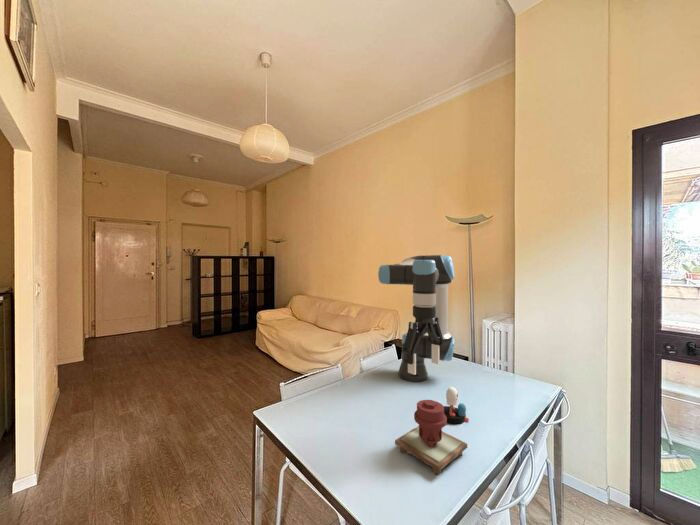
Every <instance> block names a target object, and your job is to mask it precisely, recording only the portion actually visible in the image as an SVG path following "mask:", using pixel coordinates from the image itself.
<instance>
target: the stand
mask: <svg viewBox="0 0 700 525" xmlns="http://www.w3.org/2000/svg"><path fill="white" fill-rule="evenodd" d="M394 444H395V446H398V447H399V451H400V452H401V453H403V454H407V453H409V454H411V455H413V456H414V457H416V458H417V459H418V460H420V461H422V462H424V463H425V464H427V465H428V466H430V467H431V468H432V472H433V474H435V475H440V474H441V473H442V469H444V468H445V467H446V466H447V465H449V464H450V463H451V462H452V461H453V460H454V459H456V458H457V457H462V456H463V452H464V451H465V450H466V449H467V448H468V443H467V442H465V441H463V440H460V439H459V438H457V437H455V436H453V435H450V434H449V433H447V432H445V431H443V430H442V439H441V441H439V442H437V443H434V447H429V446H428V444H427V442H426V441H424V440H422V439H421V438H420V436H419V425H418V426H416V427H414V428H413V429H411V430H410V431H408V432H406V433H405V434H403V435H401V436H399V437H398V438H397V439H394Z"/></svg>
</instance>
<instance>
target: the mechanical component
mask: <svg viewBox="0 0 700 525" xmlns="http://www.w3.org/2000/svg"><path fill="white" fill-rule="evenodd" d="M444 406H445V405H443V404H442V403H440V402H438V401H436V400H433V399H423V400H419V401H418V402H417V403H416V410H415V411H414V414H413V419H414V421H415V423H416V424H417V425H418V426H419V436H420V438H421V439H422V440H424V441H426V442H427V444H428V446H429V447H434V443H437V442H439V441H441V439H442V431H443V428H445V427H446V426H447V424H448V423H447V417H446V415H445V414H444Z"/></svg>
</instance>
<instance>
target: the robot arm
mask: <svg viewBox="0 0 700 525" xmlns="http://www.w3.org/2000/svg"><path fill="white" fill-rule="evenodd" d="M453 262H454V261H453V259H452V257H451V256H450V255H444V254H443V255H442V254H434V255H433V254H431V255H428V254H427V255H421V254H420V255H414V256H410V257H408V258H405V259H403V260H402V261H401V262H397V263H396V264H395V263H394V264H381V265H380V266H379V267H378V272H377V274H378V276H377V277H378V282H379V284H383V285H408V286H412V304H413V306H412V316H413V317H414V318H415V321H414V322H412V321H409V322H408V329H407V332H404V334H403V335H402V338H401V362H400V366H399V369H398V377H399V378H401V379H402V380H404V381H407V382H414V383H415V382H416V383H417V382H424V381H427V379H428V375H429V374H428V371H427V368H426V363H425V359H427V360H428V359H429V360H431V363H432V364H435V365H440V361H442V362H449V361H452V360H453V357H454V349H455V343H456V342H455V340H456V339H455V337H453V336H452V333H451V332H450V330H449V328H450V327H449V286H450V284H452V280H454V279H455V269H454V263H453ZM426 334H427V335H426Z"/></svg>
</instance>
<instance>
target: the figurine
mask: <svg viewBox="0 0 700 525" xmlns="http://www.w3.org/2000/svg"><path fill="white" fill-rule="evenodd" d="M445 395H446V396H445V399H446V405H443V406H444V414H445V415H446V417H447V424H448V425H452V426H453V425H455V426H456V425H458V426H459V425H463V424H464V423H465V422H470V420H469V418H468V417H467V412H466V411H467V407H466V405H465V404H464V403H461V402H460V403H459V402H458V401H459V395H458V391H457V389H456V388H455V387H453V386H449V387H448V388H447V390H446V394H445ZM458 403H459V404H458ZM455 406H457V407H455Z"/></svg>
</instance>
